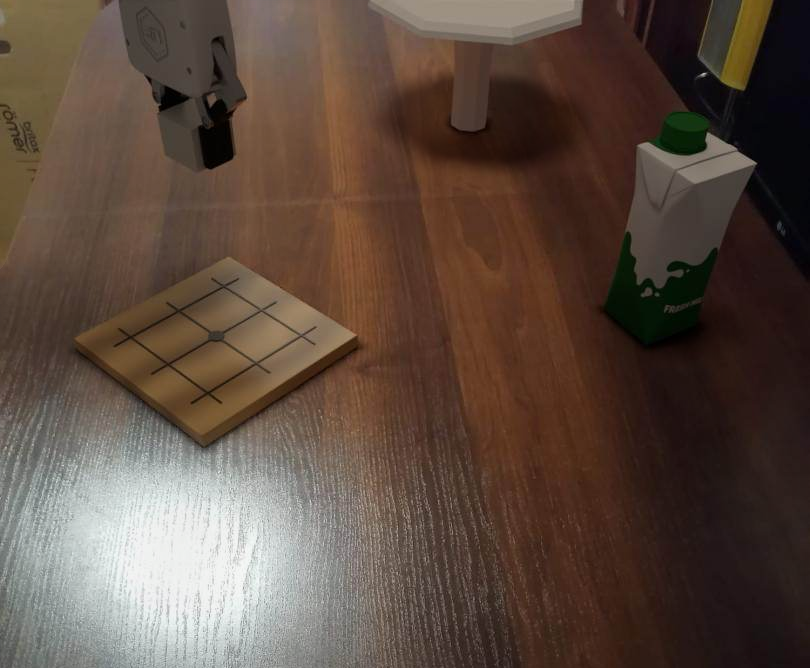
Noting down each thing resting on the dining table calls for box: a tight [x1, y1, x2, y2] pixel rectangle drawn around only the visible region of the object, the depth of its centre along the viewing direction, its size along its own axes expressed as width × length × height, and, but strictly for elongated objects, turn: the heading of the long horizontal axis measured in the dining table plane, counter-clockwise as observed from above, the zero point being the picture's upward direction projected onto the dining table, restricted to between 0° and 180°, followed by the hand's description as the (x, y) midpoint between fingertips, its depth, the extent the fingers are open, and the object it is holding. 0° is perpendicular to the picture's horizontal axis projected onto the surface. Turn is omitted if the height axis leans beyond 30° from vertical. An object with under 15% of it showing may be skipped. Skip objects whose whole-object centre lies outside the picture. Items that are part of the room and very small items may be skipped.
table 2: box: [367, 0, 584, 132], centre depth 112 cm, size 28×28×17 cm
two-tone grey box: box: [156, 97, 237, 174], centre depth 81 cm, size 5×5×4 cm
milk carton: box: [603, 110, 758, 346], centre depth 84 cm, size 9×9×20 cm
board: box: [73, 255, 359, 448], centre depth 87 cm, size 20×20×2 cm
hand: (199, 151), depth 82 cm, fingers closed on two-tone grey box, 4 cm apart
